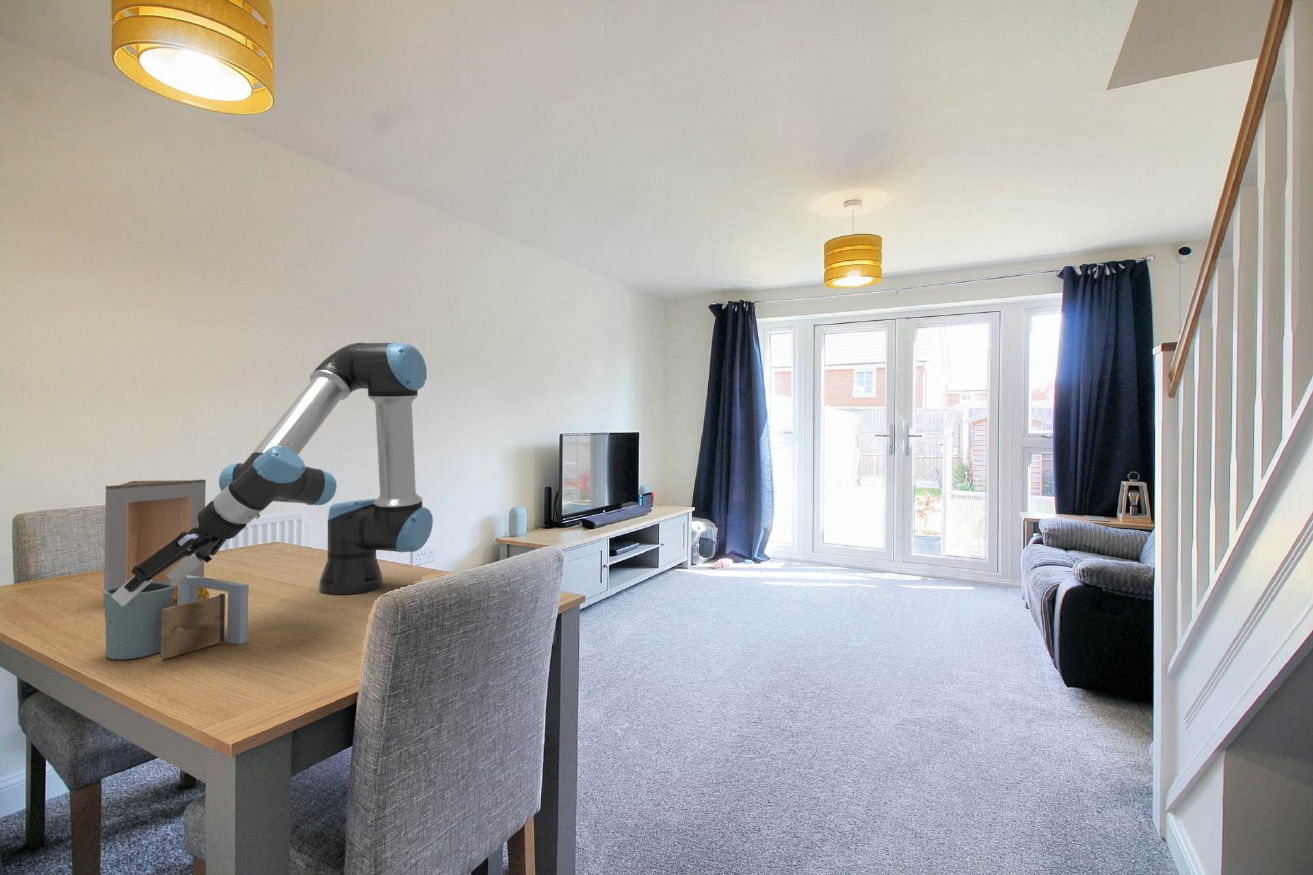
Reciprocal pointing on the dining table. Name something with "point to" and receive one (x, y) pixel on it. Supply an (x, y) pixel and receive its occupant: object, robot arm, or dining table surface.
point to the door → (192, 626)
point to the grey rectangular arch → (236, 603)
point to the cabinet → (148, 524)
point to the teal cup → (136, 621)
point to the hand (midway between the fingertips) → (146, 589)
